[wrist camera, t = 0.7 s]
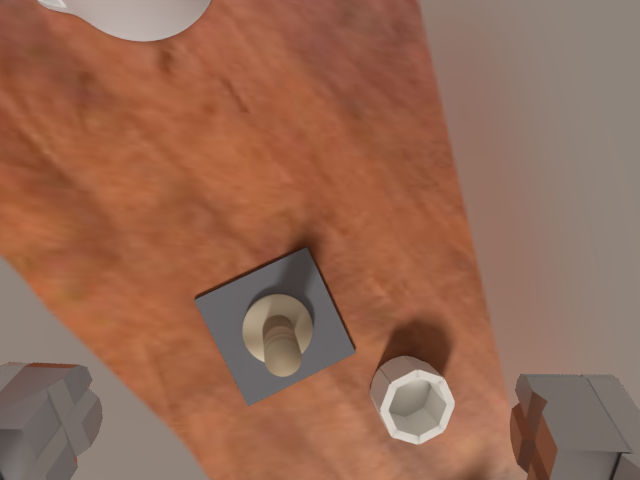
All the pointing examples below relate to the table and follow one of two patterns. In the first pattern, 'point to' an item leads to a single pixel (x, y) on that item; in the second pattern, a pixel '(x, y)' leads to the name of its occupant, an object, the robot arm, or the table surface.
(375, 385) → the white octagonal collar
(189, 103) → the table surface
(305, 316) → the beige peg with base
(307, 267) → the mat
